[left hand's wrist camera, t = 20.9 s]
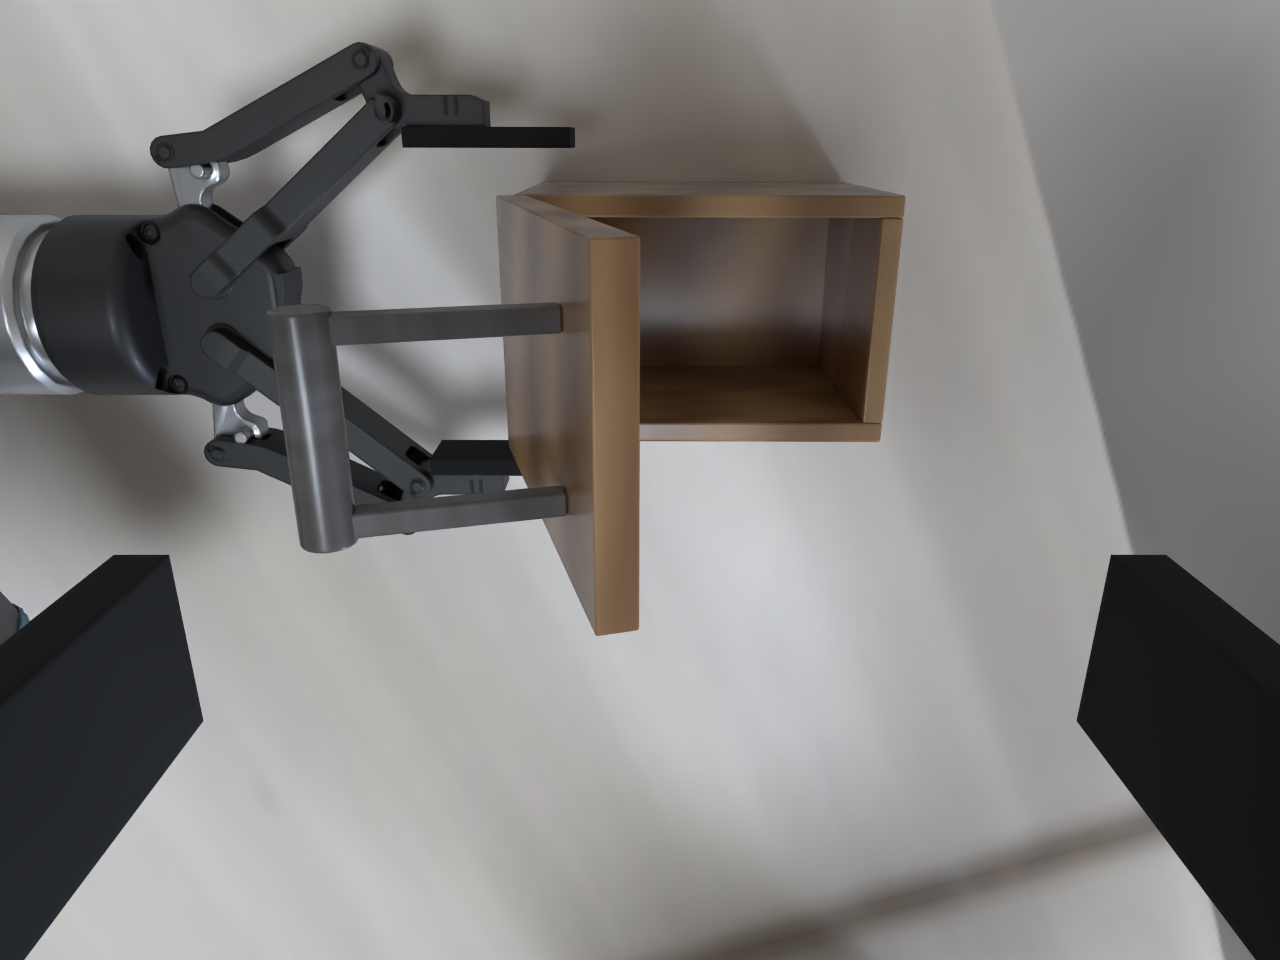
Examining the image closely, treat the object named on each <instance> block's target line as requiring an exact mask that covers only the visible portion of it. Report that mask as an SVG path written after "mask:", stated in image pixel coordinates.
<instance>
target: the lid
mask: <svg viewBox="0 0 1280 960" xmlns="http://www.w3.org/2000/svg"><path fill="white" fill-rule="evenodd" d="M496 206H497V225H498V245H499V264H500V283H501V303H502V305H480V306H457V307H434V308H412V309H389V310H366V311H344V312H332V310H331V308H330V307H328V306H324V305H317V304H299V305H287V306H281V307H276V308H273V309H270V310H268V311H267V320H268V327H269V334H270V341H271V348H272V355H273V362H274V369H275V375H276V382H277V389H278V396H279V403H280V410H281V417H282V424H283V431H284V437H285V444H286V451H287V458H288V465H289V472H290V479H291V486H292V492H293V499H294V506H295V513H296V520H297V527H298V534H299V541H300V546H301V547H302V548H303V549H304V550H306V551H308V552H312V553H331V552H337V551H341V550H344V549H347V548H349V547H351V546H353V545H354V544H355V543H356V542H357V541H358V538H364V537H374V536H383V535H392V534H402V533H411V532H420V531H430V530H439V529H448V528H458V527H467V526H477V525H486V524H495V523H505V522H514V521H523V520H533V519H543V522H544V524H545V526H546V528H547V530H548V533H549V535H550V537H551V539H552V541H553V543H554V546H555V548H556V550H557V552H558V554H559V556H560V559H561V561H562V563H563V565H564V567H565V570H566V572H567V574H568V576H569V578H570V580H571V583H572V585H573V587H574V589H575V591H576V593H577V596H578V598H579V600H580V602H581V604H582V607H583V609H584V611H585V613H586V615H587V617H588V620H589V622H590V624H591V626H592V628H593V630H594V633H595V635H596V636H600V635H607V634H614V633H621V632H628V631H635V630H638V629H639V468H640V237H639V236H636V235H634V234H631V233H628V232H625V231H623V230H620V229H617V228H614V227H612V226H609V225H606V224H603V223H600V222H598V221H595V220H592V219H589V218H587V217H584V216H581V215H578V214H576V213H573V212H570V211H567V210H565V209H562V208H559V207H556V206H554V205H551V204H548V203H545V202H543V201H540V200H537V199H534V198H532V197H529V196H526V195H504V196H497V197H496ZM485 337H503V341H504V361H505V380H506V400H507V419H508V438H509V448H510V450H511V452H512V454H513V456H514V458H515V461H516V463H517V465H518V467H519V469H520V472H521V474H522V476H523V478H524V480H525V482H526V485H527V487H528V489H517V490H507V491H497V492H487V493H476V494H466V495H456V496H446V497H435V498H425V499H415V500H405V501H394V502H384V503H374V504H364V505H355V500H354V492H353V483H352V475H351V467H350V458H349V450H348V442H347V433H346V425H345V416H344V408H343V400H342V391H341V383H340V374H339V366H338V358H337V349H336V345H354V344H373V343H391V342H410V341H429V340H448V339H466V338H485Z"/></svg>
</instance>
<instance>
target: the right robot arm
mask: <svg viewBox="0 0 1280 960" xmlns="http://www.w3.org/2000/svg"><path fill="white" fill-rule="evenodd" d="M360 94H363V96H364V98H365V100H366V104H365V105H364V106H363V107H362V108H361V109H360V110H359V111H358V112H357V113H356V114H355V115H354V116H353V117H352V118H351V119H350V120H349V121H348V122H347V123H346V124H345V125H344V126H343V127H342V128H341V129H340V130H339V131H338V133H337V134H336V135H335V136H334V137H333V138H332V139H331V140H330V141H329V142H328V143H327V144H326V145H325V146H324V147H323V148H322V149H321V150H320V151H319V152H318V153H317V154H316V155H315V156H314V157H313V158H312V159H311V160H310V161H309V162H308V163H307V164H306V165H305V166H304V167H303V168H302V169H301V170H300V171H299V172H298V173H297V174H296V175H295V176H294V177H293V178H292V179H291V180H290V181H289V182H288V183H287V184H286V185H285V186H284V187H283V188H282V189H281V190H280V191H279V192H278V193H277V194H276V195H275V196H274V197H273V198H272V199H271V200H270V201H269V202H268V203H267V204H266V205H265V206H263V207H262V208H260V209H259V210H257V211H256V212H254V213H253V214H252V215H251V216H250V217H249V218H248V219H247V220H246V221H245V222H242V221H241V220H239V219H238V218H236V217H235V216H233V215H232V214H230V213H229V212H227V211H226V210H224V209H223V208H221V207H220V206H218V205H215V204H213V203H212V198H211V197H212V192H213V190H214V189H215V188H216V187H217V186H219V185H221V184H223V183H225V182H226V181H227V180H228V178H229V174H230V169H229V165H228V163H231V162H236V161H239V160H242V159H245V158H248V157H250V156H252V155H254V154H256V153H258V152H260V151H261V150H263V149H265V148H267V147H268V146H270V145H272V144H274V143H275V142H277V141H279V140H281V139H282V138H284V137H286V136H288V135H290V134H291V133H293V132H295V131H297V130H298V129H300V128H302V127H304V126H305V125H307V124H309V123H311V122H312V121H314V120H316V119H318V118H319V117H321V116H323V115H325V114H326V113H328V112H330V111H332V110H333V109H335V108H337V107H339V106H340V105H342V104H344V103H346V102H347V101H349V100H351V99H353V98H354V97H356V96H358V95H360ZM400 133H402V144H403V147H424V148H573V147H575V128H572V127H491V126H490V107H489V102H488V101H486V100H484V99H481V98H479V97H476V96H473V95H411V94H409V93H407V92H406V91H405V90H404V89H403V88H402V87H401V85H400V83H399V81H398V79H397V76H396V74H395V72H394V69H393V61H392V58H391V56H390V55H389V54H388V53H387V52H386V51H384V50H383V49H380V48H378V47H375V46H372V45H369V44H366V43H361V42H357V43H354V44H352V45H350V46H348V47H346V48H345V49H343V50H341V51H340V52H338V53H336V54H334V55H333V56H331V57H329V58H327V59H326V60H324V61H322V62H321V63H319V64H317V65H315V66H314V67H312V68H310V69H309V70H307V71H305V72H303V73H302V74H300V75H298V76H296V77H295V78H293V79H291V80H290V81H288V82H286V83H284V84H283V85H281V86H279V87H278V88H276V89H274V90H272V91H271V92H269V93H267V94H266V95H264V96H262V97H260V98H259V99H257V100H255V101H253V102H252V103H250V104H248V105H247V106H245V107H243V108H241V109H240V110H238V111H236V112H235V113H233V114H231V115H229V116H228V117H226V118H224V119H222V120H221V121H219V122H217V123H216V124H214V125H212V126H210V127H209V128H207V129H205V130H204V131H198V132H190V133H181V134H173V135H165V136H160V137H157V138H155V139H154V140H153V141H152V143H151V146H150V153H151V156H152V158H153V160H154V161H155V162H156V163H157V164H158V165H159V166H161V167H163V168H168V170H169V173H170V177H171V180H172V184H173V187H174V191H175V194H176V198H177V202H178V205H179V208H177V209H176V210H174V211H173V212H171V213H169V214H167V215H73V216H69V217H66V218H64V219H63V218H60V217H57V216H54V215H0V394H50V395H74V394H77V393H81V392H84V391H85V392H87V393H91V394H99V395H181V394H185V395H193V396H197V397H200V398H202V399H204V400H206V401H208V402H210V403H212V404H213V419H214V439H213V440H212V441H210V442H209V443H207V445H206V446H205V449H204V454H205V457H206V459H207V460H208V461H209V462H210V463H212V464H213V465H216V466H221V467H231V468H240V469H249V470H257V471H259V472H262V473H264V474H266V475H269V476H271V477H273V478H276V479H278V480H280V481H282V482H285V483H287V484H289V485H291V479H290V472H289V465H288V458H287V451H286V444H285V437H284V431H283V430H279V429H275V428H269V427H268V422H267V420H266V419H265V418H264V417H260V416H258V415H255V414H252V413H251V412H249V411H248V409H247V408H246V407H245V405H244V398H246V397H248V396H250V395H251V394H252V393H253V392H255V391H256V390H258V391H259V392H260V393H262V394H263V395H264V396H266V397H267V398H269V399H270V400H271V401H273V402H274V403H275V404H277V405H278V406H280V403H279V396H278V389H277V382H276V375H275V369H274V362H273V355H272V348H271V341H270V334H269V327H268V320H267V311H268V310H270V309H273V308H276V307H281V306H287V305H299V304H301V303H300V301H301V293H302V286H303V284H302V276H301V268H300V267H295V264H294V262H293V261H292V259H291V258H290V256H289V255H288V254H287V253H286V252H285V251H284V250H285V249H286V248H287V247H288V246H289V245H290V244H291V243H292V242H293V241H294V240H295V239H296V238H297V237H298V236H299V235H300V234H301V233H302V232H303V231H304V230H305V229H306V228H307V225H308V224H309V223H310V222H311V221H312V220H313V219H314V218H315V217H316V216H317V215H318V214H319V213H320V212H321V211H322V210H323V209H324V208H325V207H326V206H327V205H328V204H329V203H330V202H331V201H332V200H333V199H334V198H335V197H336V196H337V195H338V194H339V193H340V192H341V191H342V190H343V189H344V188H345V187H346V186H347V185H348V184H349V183H350V182H351V181H352V180H354V179H355V178H356V177H357V176H358V175H359V174H360V173H361V172H362V171H363V170H364V169H365V168H366V167H367V166H368V165H369V164H370V163H371V162H372V161H373V160H374V159H375V158H376V157H377V156H378V155H379V154H380V153H381V152H382V151H383V150H384V149H385V148H386V147H387V146H388V145H389V144H390V143H391V142H392V141H393V140H394V139H395V138H396V137H397V136H398V135H399V134H400ZM341 391H342V400H343V408H344V416H345V425H346V433H347V442H348V450H349V451H350V452H351V453H353V454H354V455H355V456H357V457H358V458H359V459H361V460H362V461H364V462H365V463H366V464H368V465H369V466H370V467H372V468H373V469H374V470H373V469H370V468H368V467H366V466H364V465H361V464H359V463H357V462H355V461H352V460H350V467H351V475H352V483H353V492H354V500H355V505H364V504H374V503H384V502H394V501H405V500H415V499H425V498H433V497H434V496H437V495H442V494H476V493H487V492H497V491H505V489H506V486H507V484H508V481H509V476H522V474H521V472H520V469H519V467H518V465H517V463H516V461H515V458H514V456H513V454H512V452H511V450H510V448H509V440H442V441H441V443H440V444H439V446H438V447H437V449H436V450H435V452H434V454H433V455H432V454H431V453H429V452H428V451H427V450H425V449H424V448H423V447H421V446H420V445H419V444H417V443H416V442H415V441H413V440H412V439H411V438H409V437H408V436H407V435H405V434H404V433H403V432H401V431H400V430H399V429H397V428H396V427H395V426H393V425H392V424H391V423H389V422H388V421H387V420H385V419H384V418H383V417H381V416H380V415H379V414H377V413H376V412H375V411H373V410H372V409H371V408H369V407H368V406H367V405H365V404H364V403H363V402H361V401H360V400H359V399H357V398H356V397H355V396H353V395H352V394H351V393H349V392H348V391H347V390H345V389H344V388H343V387H341ZM375 470H376V471H375ZM413 533H415V532H411V533H402V534H405V535H410V534H413ZM29 622H30V621H29V619H28V616H27V615H26V614H25V613H24V611H23V609H22V608H20V607H18V606H17V605H15V604H13V603H11V602H10V601H9V600H8V599H7V598H6V597H5V596H4V595H3V594H2V593H1V592H0V645H1V644H2V643H3V642H5V641H6V640H7V639H8V638H10V637H11V636H12V635H13V634H15V633H16V632H17V631H19V630H20V629H21V628H22V627H24V626H25V625H26V624H27V623H29Z"/></svg>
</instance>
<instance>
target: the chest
mask: <svg viewBox="0 0 1280 960" xmlns="http://www.w3.org/2000/svg"><path fill="white" fill-rule="evenodd" d="M516 195H526V196H529V197H532V198H534V199H537V200H540V201H543V202H545V203H548V204H551V205H554V206H556V207H559V208H562V209H565V210H567V211H570V212H573V213H576V214H578V215H581V216H584V217H587V218H589V219H592V220H595V221H598V222H600V223H603V224H606V225H609V226H612V227H614V228H617V229H620V230H623V231H625V232H628V233H631V234H634V235H636V236H639V237H640V441H780V442H879V441H880V437H881V428H882V424H881V423H882V419H883V409H884V399H885V390H886V380H887V371H888V361H889V351H890V342H891V332H892V323H893V313H894V303H895V294H896V284H897V274H898V265H899V255H900V246H901V236H902V226H903V219H902V218H903V216H904V206H905V196H903V195H899V194H894V193H889V192H885V191H880V190H876V189H871V188H866V187H862V186H857V185H852V184H848V183H794V182H542V183H540V184H538V185H536V186H534V187H531V188H529V189H527V190H525V191H522V192H520V193H518V194H516Z"/></svg>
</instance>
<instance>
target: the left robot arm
mask: <svg viewBox="0 0 1280 960" xmlns="http://www.w3.org/2000/svg"><path fill="white" fill-rule="evenodd" d="M202 722H203V717H202V712H201V707H200V702H199V698H198V693H197V688H196V683H195V678H194V673H193V669H192V664H191V659H190V654H189V649H188V644H187V640H186V635H185V630H184V625H183V620H182V616H181V611H180V606H179V601H178V596H177V591H176V587H175V582H174V577H173V572H172V567H171V563H170V558H169V555H113V556H112V557H111V558H109V559H108V560H107V561H106V562H104V563H103V564H102V565H101V566H99V567H98V568H97V569H96V570H94V571H93V572H92V573H90V574H89V575H88V576H87V577H85V578H84V579H83V580H82V581H80V582H79V583H78V584H77V585H75V586H74V587H73V588H72V589H70V590H69V591H68V592H66V593H65V594H64V595H63V596H61V597H60V598H59V599H58V600H56V601H55V602H54V603H53V604H51V605H50V606H49V607H48V608H46V609H45V610H44V611H43V612H41V613H40V614H39V615H37V616H36V617H35V618H34V619H32V620H31V621H30V622H29V623H27V624H26V625H25V626H24V627H22V628H21V629H20V630H19V631H17V632H16V633H15V634H13V635H12V636H11V637H10V638H8V639H7V640H6V641H5V642H3V643H2V644H1V645H0V960H24V959H25V958H26V957H27V955H28V954H29V953H30V951H31V950H32V949H33V947H34V946H35V945H36V943H37V942H38V941H39V939H40V938H41V937H42V935H43V934H44V933H45V931H46V930H47V929H48V927H49V926H50V925H51V923H52V922H53V921H54V919H55V918H56V917H57V915H58V914H59V913H60V911H61V910H62V909H63V907H64V906H65V905H66V903H67V902H68V901H69V899H70V898H71V897H72V895H73V894H74V893H75V891H76V890H77V889H78V887H79V886H80V885H81V883H82V882H83V881H84V879H85V878H86V877H87V875H88V874H89V873H90V871H91V870H92V869H93V867H94V866H95V865H96V863H97V862H98V861H99V859H100V858H101V857H102V855H103V854H104V853H105V851H106V850H107V849H108V847H109V846H110V845H111V843H112V842H113V841H114V839H115V838H116V837H117V835H118V834H119V833H120V831H121V830H122V829H123V827H124V826H125V825H126V823H127V822H128V821H129V819H130V818H131V817H132V815H133V814H134V813H135V811H136V810H137V809H138V807H139V806H140V805H141V803H142V802H143V801H144V799H145V798H146V797H147V795H148V794H149V793H150V791H151V790H152V789H153V787H154V786H155V785H156V783H157V782H158V781H159V779H160V778H161V777H162V775H163V774H164V773H165V771H166V770H167V769H168V767H169V766H170V765H171V763H172V762H173V761H174V759H175V758H176V757H177V755H178V754H179V753H180V751H181V750H182V749H183V747H184V746H185V745H186V743H187V742H188V741H189V739H190V738H191V737H192V735H193V734H194V733H195V731H196V730H197V729H198V727H199V726H200V725H201V723H202ZM1077 722H1078V723H1079V725H1080V726H1081V727H1082V729H1083V730H1084V731H1085V733H1086V734H1087V735H1088V737H1089V738H1090V739H1091V741H1092V742H1093V743H1094V745H1095V746H1096V747H1097V749H1098V750H1099V751H1100V753H1101V754H1102V755H1103V757H1104V758H1105V759H1106V761H1107V762H1108V763H1109V765H1110V766H1111V767H1112V769H1113V770H1114V771H1115V773H1116V774H1117V775H1118V777H1119V778H1120V779H1121V781H1122V782H1123V783H1124V785H1125V786H1126V787H1127V789H1128V790H1129V791H1130V793H1131V794H1132V795H1133V797H1134V798H1135V799H1136V801H1137V802H1138V803H1139V805H1140V806H1141V807H1142V809H1143V810H1144V811H1145V813H1146V814H1147V815H1148V817H1149V818H1150V819H1151V821H1152V822H1153V823H1154V825H1155V826H1156V827H1157V829H1158V830H1159V831H1160V833H1161V834H1162V835H1163V837H1164V838H1165V839H1166V841H1167V842H1168V843H1169V845H1170V846H1171V847H1172V849H1173V850H1174V851H1175V853H1176V854H1177V855H1178V857H1179V858H1180V859H1181V861H1182V862H1183V863H1184V865H1185V866H1186V867H1187V869H1188V870H1189V871H1190V873H1191V874H1192V875H1193V877H1194V878H1195V879H1196V881H1197V882H1198V883H1199V885H1200V886H1201V887H1202V889H1203V890H1204V891H1205V893H1206V894H1207V895H1208V897H1209V898H1210V899H1211V901H1212V902H1213V903H1214V905H1215V906H1216V907H1217V909H1218V910H1219V911H1220V913H1221V914H1222V915H1223V917H1224V918H1225V919H1226V921H1227V922H1228V923H1229V925H1230V926H1231V927H1232V929H1233V930H1234V931H1235V933H1236V934H1237V935H1238V937H1239V938H1240V939H1241V941H1242V942H1243V943H1244V945H1245V946H1246V947H1247V949H1248V950H1249V951H1250V953H1251V954H1252V955H1253V957H1254V958H1255V959H1256V960H1280V645H1279V644H1278V643H1277V642H1275V641H1274V640H1273V639H1272V638H1270V637H1269V636H1268V635H1267V634H1265V633H1264V632H1263V631H1261V630H1260V629H1259V628H1258V627H1256V626H1255V625H1254V624H1253V623H1251V622H1250V621H1249V620H1248V619H1246V618H1245V617H1244V616H1243V615H1241V614H1240V613H1239V612H1237V611H1236V610H1235V609H1234V608H1232V607H1231V606H1230V605H1229V604H1227V603H1226V602H1225V601H1224V600H1222V599H1221V598H1220V597H1219V596H1217V595H1216V594H1215V593H1213V592H1212V591H1211V590H1210V589H1208V588H1207V587H1206V586H1205V585H1203V584H1202V583H1201V582H1200V581H1198V580H1197V579H1196V578H1195V577H1193V576H1192V575H1191V574H1190V573H1188V572H1187V571H1186V570H1184V569H1183V568H1182V567H1181V566H1179V565H1178V564H1177V563H1176V562H1174V561H1173V560H1172V559H1171V558H1169V557H1168V556H1167V555H1111V558H1110V563H1109V567H1108V572H1107V577H1106V582H1105V587H1104V591H1103V596H1102V601H1101V606H1100V611H1099V616H1098V620H1097V625H1096V630H1095V635H1094V640H1093V644H1092V649H1091V654H1090V659H1089V664H1088V669H1087V673H1086V678H1085V683H1084V688H1083V693H1082V698H1081V702H1080V707H1079V712H1078V717H1077Z"/></svg>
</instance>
